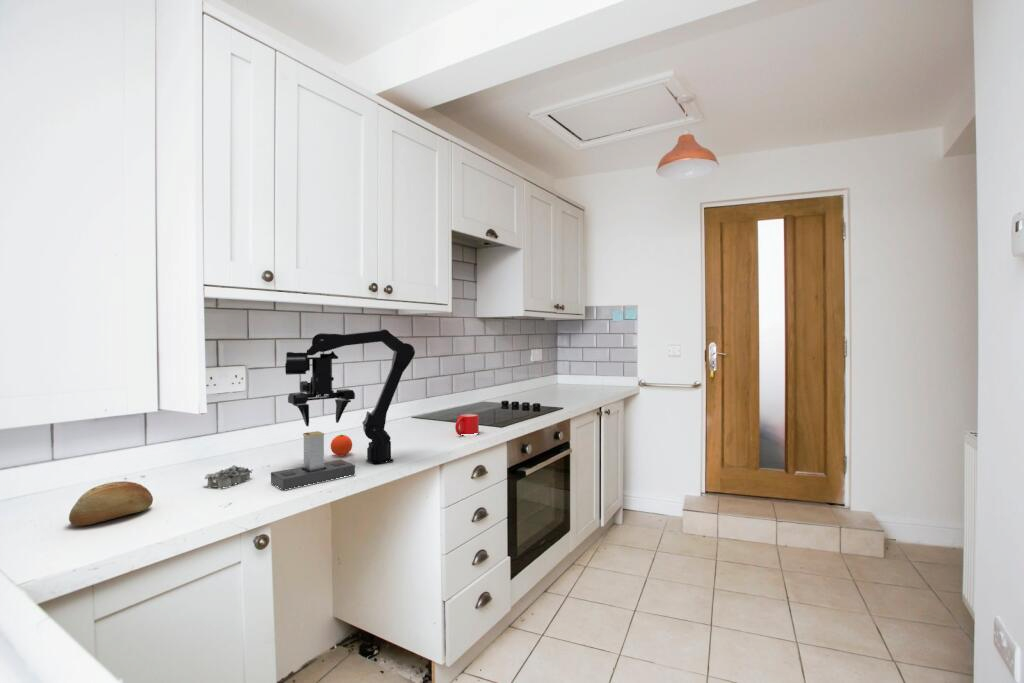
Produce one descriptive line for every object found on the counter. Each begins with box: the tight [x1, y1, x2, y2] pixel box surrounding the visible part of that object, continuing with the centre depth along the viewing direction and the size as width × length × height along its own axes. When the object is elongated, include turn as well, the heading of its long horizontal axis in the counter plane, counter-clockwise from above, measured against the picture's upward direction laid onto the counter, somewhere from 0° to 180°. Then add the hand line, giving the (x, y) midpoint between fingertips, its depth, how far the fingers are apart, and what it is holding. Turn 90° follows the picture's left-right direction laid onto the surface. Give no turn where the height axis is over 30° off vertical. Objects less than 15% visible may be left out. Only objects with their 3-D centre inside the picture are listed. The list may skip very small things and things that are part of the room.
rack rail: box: [270, 459, 356, 491], centre depth 140 cm, size 20×9×3 cm, turn 134°
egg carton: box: [203, 464, 254, 489], centre depth 137 cm, size 11×8×4 cm
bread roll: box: [68, 480, 154, 527], centre depth 111 cm, size 10×15×8 cm, turn 145°
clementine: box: [330, 434, 353, 457], centre depth 168 cm, size 8×7×7 cm
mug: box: [455, 413, 480, 436], centre depth 201 cm, size 8×12×8 cm, turn 148°
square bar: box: [302, 430, 325, 473], centre depth 140 cm, size 4×4×13 cm
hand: (322, 424), depth 153 cm, fingers open, 9 cm apart
